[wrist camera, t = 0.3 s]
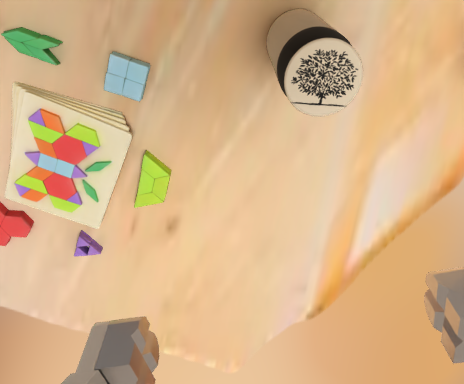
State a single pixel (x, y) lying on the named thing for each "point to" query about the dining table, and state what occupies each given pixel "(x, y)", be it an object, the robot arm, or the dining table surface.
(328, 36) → the travel mug
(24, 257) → the dining table surface
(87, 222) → the pattern blocks set
